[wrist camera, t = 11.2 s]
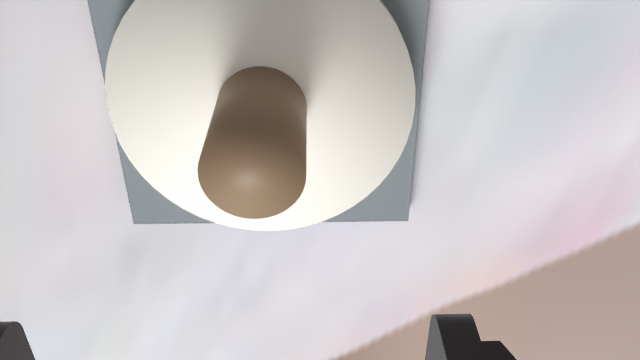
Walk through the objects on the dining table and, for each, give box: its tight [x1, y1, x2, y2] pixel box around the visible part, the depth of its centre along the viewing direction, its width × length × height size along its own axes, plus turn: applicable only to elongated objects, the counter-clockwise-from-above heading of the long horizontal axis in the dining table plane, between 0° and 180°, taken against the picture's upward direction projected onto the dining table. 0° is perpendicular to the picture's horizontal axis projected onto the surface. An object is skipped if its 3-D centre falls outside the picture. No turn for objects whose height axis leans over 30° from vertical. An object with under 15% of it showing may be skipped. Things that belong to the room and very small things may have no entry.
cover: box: [105, 0, 416, 231], centre depth 20 cm, size 11×11×6 cm
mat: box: [88, 0, 429, 224], centre depth 23 cm, size 12×12×1 cm
